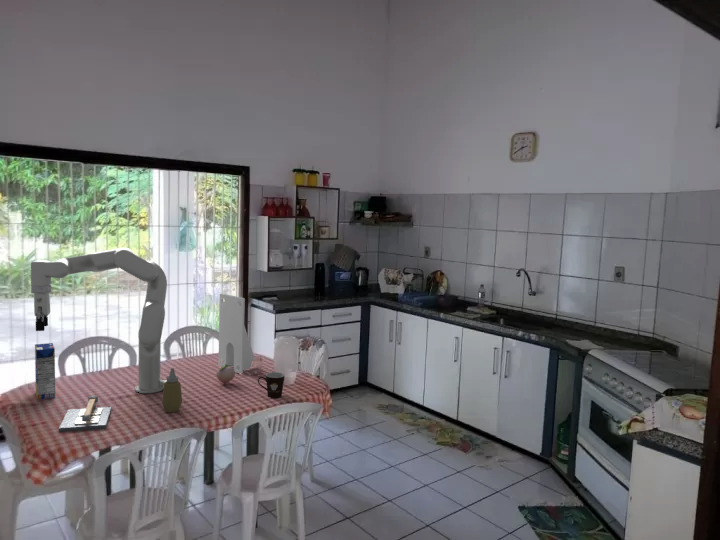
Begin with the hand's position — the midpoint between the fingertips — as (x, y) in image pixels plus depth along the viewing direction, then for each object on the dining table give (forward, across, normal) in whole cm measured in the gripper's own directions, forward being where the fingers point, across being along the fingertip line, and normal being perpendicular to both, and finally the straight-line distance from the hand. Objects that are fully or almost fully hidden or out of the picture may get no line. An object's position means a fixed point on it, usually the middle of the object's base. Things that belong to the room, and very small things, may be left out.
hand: (41, 328), depth 243 cm
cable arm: (+27, -33, -21) cm, 47 cm away
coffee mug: (+31, -22, -96) cm, 104 cm away
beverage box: (+31, +2, -1) cm, 31 cm away
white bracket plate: (+31, +25, -90) cm, 98 cm away
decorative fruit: (+31, 0, -79) cm, 84 cm away
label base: (+30, -33, -20) cm, 49 cm away
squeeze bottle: (+31, -31, -52) cm, 68 cm away
